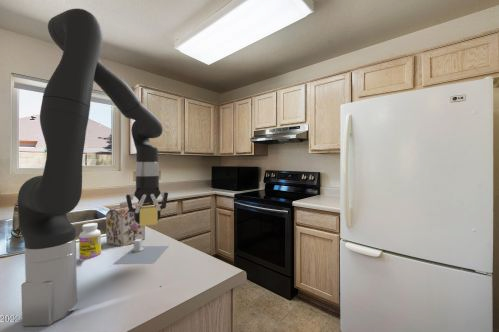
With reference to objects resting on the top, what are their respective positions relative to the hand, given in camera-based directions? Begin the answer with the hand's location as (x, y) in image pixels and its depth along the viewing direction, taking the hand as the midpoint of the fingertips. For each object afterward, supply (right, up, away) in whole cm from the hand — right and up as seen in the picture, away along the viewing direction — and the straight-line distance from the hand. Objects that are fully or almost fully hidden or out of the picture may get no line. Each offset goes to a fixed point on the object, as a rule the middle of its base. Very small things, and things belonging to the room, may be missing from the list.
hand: (147, 221), depth 80 cm
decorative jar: (-20, -15, +23) cm, 34 cm away
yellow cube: (0, 0, 0) cm, 0 cm away
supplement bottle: (-24, -15, +5) cm, 29 cm away
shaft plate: (-4, -15, +5) cm, 16 cm away
